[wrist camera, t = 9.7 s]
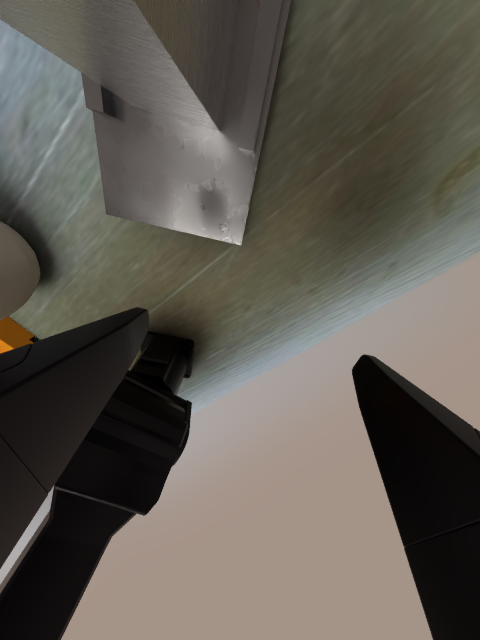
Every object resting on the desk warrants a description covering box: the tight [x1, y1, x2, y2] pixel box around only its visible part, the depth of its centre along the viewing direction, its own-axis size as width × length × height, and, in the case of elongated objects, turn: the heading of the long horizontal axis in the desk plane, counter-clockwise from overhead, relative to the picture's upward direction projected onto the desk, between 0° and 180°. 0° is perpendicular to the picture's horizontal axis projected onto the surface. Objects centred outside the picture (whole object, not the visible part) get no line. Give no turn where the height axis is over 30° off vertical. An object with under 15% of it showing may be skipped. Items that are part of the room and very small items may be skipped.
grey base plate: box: [81, 0, 291, 245], centre depth 12 cm, size 16×11×4 cm
